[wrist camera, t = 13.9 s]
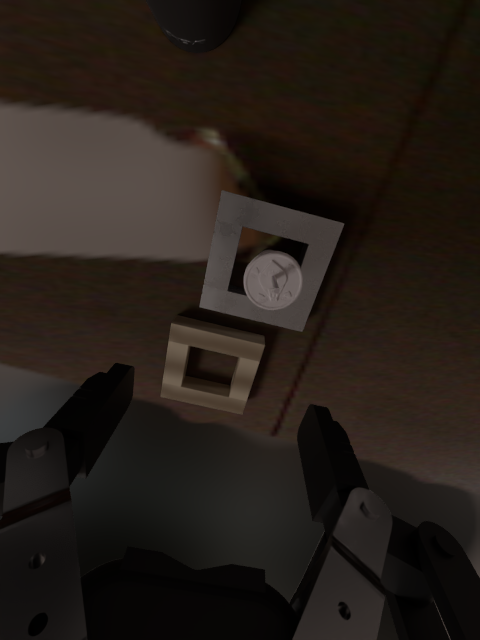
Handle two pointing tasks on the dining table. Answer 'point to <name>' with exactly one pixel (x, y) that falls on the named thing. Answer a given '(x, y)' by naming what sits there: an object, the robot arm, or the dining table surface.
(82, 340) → the dining table surface
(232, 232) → the ring
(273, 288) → the smoothie
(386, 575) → the robot arm
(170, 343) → the socket block
